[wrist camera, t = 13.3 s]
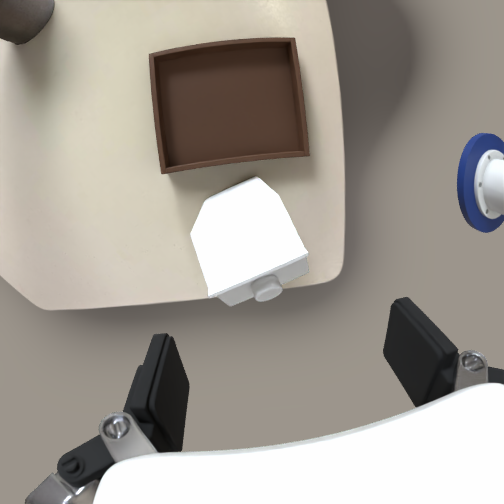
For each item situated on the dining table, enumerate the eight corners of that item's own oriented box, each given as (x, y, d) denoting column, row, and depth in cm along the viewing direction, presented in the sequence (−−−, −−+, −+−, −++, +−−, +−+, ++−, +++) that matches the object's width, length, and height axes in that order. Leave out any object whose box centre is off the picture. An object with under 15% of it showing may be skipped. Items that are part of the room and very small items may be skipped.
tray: (289, 45, 29) (295, 37, 26) (303, 155, 34) (309, 156, 31) (154, 60, 28) (148, 53, 25) (166, 172, 33) (161, 174, 31)
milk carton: (204, 199, 35) (182, 251, 17) (256, 175, 34) (289, 203, 17) (228, 247, 37) (231, 336, 20) (278, 225, 37) (324, 297, 19)
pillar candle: (22, 54, 23) (-38, 36, 9) (5, 31, 20) (-47, 14, 6) (63, 7, 22) (13, -28, 8) (43, -11, 18) (-2, -41, 4)
